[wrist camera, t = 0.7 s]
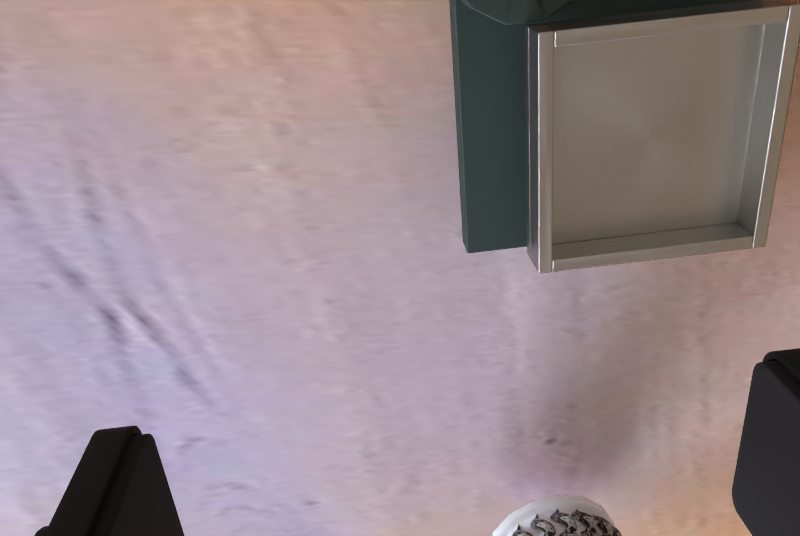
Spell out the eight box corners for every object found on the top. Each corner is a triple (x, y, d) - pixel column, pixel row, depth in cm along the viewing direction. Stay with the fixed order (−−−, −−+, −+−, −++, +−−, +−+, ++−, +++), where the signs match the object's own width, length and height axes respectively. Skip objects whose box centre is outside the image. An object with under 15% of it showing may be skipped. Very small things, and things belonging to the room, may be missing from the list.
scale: (429, -138, 27) (439, -144, 24) (768, -173, 27) (814, -183, 25) (453, 242, 34) (463, 270, 32) (718, 211, 35) (750, 236, 32)
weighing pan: (524, 24, 27) (538, 32, 25) (774, -3, 27) (806, 3, 26) (526, 253, 32) (538, 274, 30) (740, 227, 32) (765, 247, 30)
